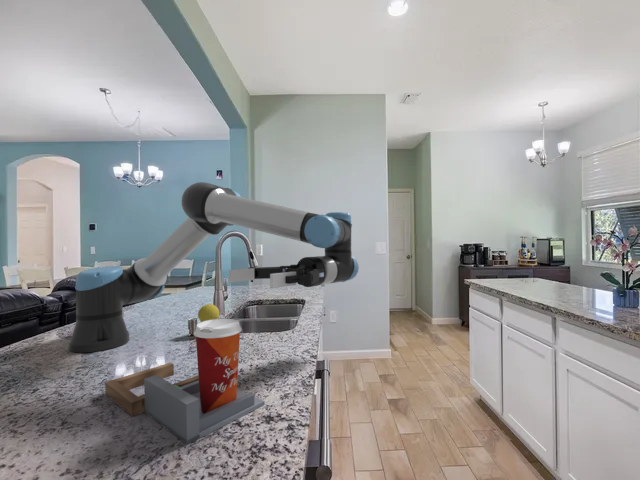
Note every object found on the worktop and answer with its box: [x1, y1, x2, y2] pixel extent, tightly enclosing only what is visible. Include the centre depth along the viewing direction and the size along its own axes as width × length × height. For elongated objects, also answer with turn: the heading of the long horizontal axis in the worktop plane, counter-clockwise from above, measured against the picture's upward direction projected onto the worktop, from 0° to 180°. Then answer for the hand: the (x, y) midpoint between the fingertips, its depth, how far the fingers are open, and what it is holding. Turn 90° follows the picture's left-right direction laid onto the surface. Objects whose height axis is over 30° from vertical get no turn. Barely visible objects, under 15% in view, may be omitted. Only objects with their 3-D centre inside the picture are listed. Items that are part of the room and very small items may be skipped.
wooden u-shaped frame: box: [104, 362, 199, 417], centre depth 65 cm, size 13×14×2 cm
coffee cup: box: [193, 318, 243, 414], centre depth 57 cm, size 8×8×15 cm
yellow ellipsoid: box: [197, 303, 220, 323], centre depth 106 cm, size 7×7×10 cm
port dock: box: [143, 375, 266, 446], centre depth 58 cm, size 15×15×6 cm
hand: (249, 278), depth 66 cm, fingers open, 13 cm apart
